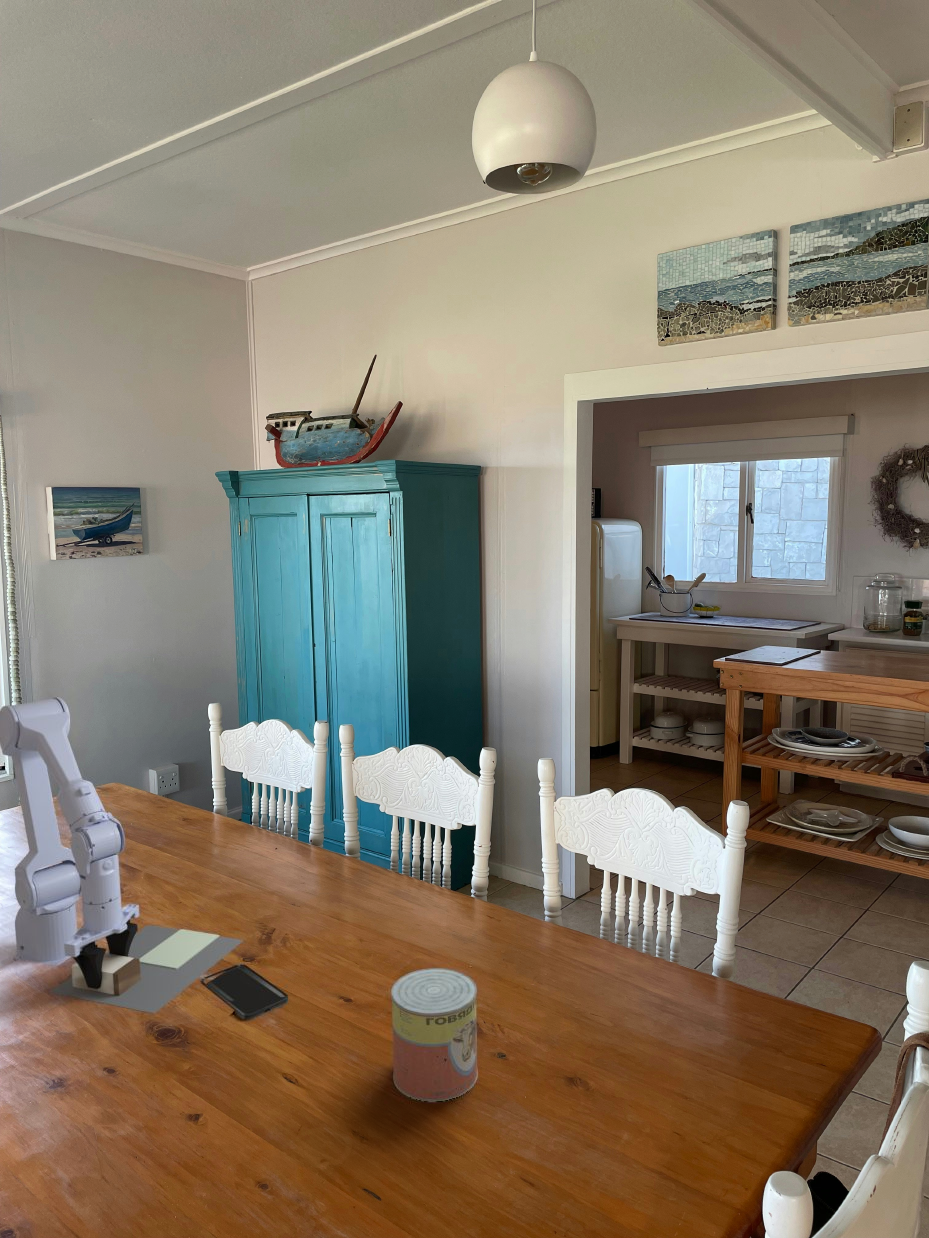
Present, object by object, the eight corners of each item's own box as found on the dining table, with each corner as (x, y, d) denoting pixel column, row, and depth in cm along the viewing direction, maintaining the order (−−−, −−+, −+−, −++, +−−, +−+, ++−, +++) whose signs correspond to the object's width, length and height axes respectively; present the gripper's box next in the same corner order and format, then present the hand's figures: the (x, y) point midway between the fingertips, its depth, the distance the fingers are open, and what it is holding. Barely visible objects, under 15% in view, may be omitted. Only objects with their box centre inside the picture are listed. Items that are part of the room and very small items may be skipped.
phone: (242, 962, 148) (291, 996, 137) (242, 968, 148) (291, 1003, 137) (198, 979, 142) (244, 1017, 131) (198, 986, 142) (245, 1024, 131)
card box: (72, 986, 141) (71, 965, 141) (95, 971, 146) (93, 950, 145) (119, 995, 138) (118, 974, 138) (140, 979, 143) (139, 958, 142)
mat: (48, 995, 139) (48, 991, 139) (149, 927, 162) (148, 924, 162) (154, 1017, 133) (154, 1013, 133) (243, 943, 156) (243, 940, 155)
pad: (176, 969, 146) (176, 968, 146) (136, 961, 148) (136, 960, 148) (219, 936, 157) (219, 935, 157) (181, 929, 160) (181, 928, 160)
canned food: (447, 1113, 111) (446, 1023, 109) (376, 1083, 117) (373, 997, 115) (493, 1065, 120) (492, 981, 119) (424, 1040, 126) (423, 960, 125)
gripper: (88, 920, 132) (94, 1006, 134) (152, 881, 146) (157, 960, 147) (50, 913, 134) (57, 998, 136) (117, 876, 148) (122, 953, 150)
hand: (106, 978), depth 142 cm, fingers closed on card box, 5 cm apart
